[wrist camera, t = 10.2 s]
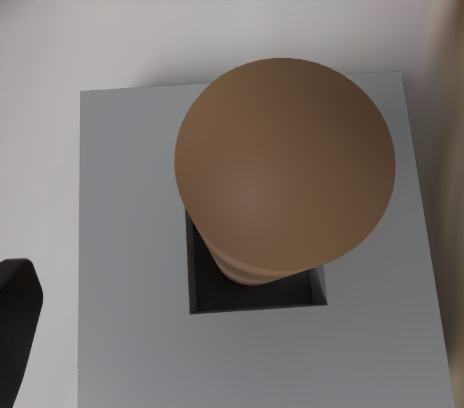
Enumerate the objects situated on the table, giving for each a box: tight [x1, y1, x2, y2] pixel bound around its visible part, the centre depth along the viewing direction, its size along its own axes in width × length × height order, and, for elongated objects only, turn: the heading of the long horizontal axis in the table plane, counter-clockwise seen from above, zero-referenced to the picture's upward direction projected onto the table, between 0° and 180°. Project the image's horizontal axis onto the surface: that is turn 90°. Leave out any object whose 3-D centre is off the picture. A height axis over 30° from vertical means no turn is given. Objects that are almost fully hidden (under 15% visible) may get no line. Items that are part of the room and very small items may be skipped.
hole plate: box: [78, 71, 455, 408], centre depth 17 cm, size 13×13×3 cm
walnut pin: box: [174, 58, 396, 286], centre depth 13 cm, size 3×3×13 cm
